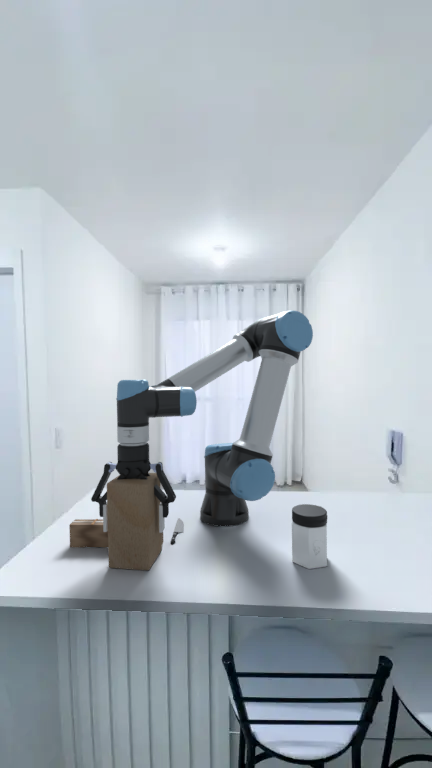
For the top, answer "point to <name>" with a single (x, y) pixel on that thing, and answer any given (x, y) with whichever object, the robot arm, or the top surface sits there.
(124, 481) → the wooden block
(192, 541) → the top surface
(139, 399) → the robot arm
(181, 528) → the chef's knife
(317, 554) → the jar
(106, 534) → the brown wooden bar
